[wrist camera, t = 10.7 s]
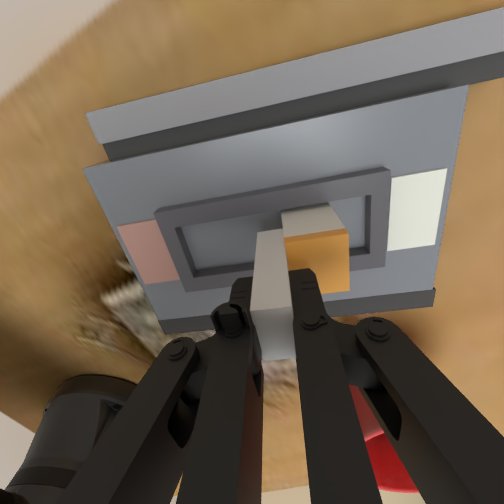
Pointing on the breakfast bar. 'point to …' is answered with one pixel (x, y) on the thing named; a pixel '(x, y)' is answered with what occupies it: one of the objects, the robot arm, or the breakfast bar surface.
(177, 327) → the long gray bar
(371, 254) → the breaker panel
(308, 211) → the lever
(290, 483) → the breakfast bar surface
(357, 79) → the grey long bar
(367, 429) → the flower pot
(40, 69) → the breakfast bar surface
